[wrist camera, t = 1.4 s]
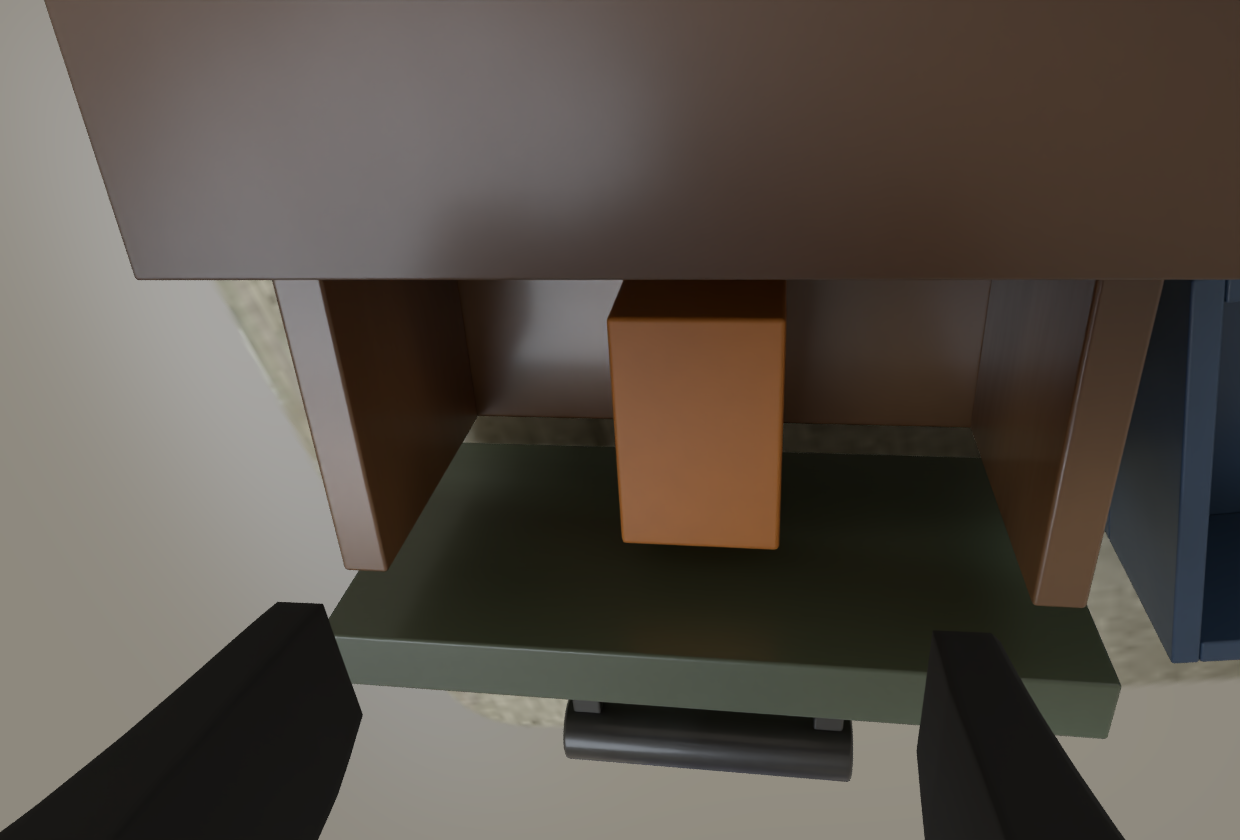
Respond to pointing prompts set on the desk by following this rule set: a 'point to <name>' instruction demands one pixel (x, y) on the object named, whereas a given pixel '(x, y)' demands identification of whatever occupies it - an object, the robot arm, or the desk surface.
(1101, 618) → the desk surface
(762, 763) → the drawer
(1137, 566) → the open box
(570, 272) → the cabinet
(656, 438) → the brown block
